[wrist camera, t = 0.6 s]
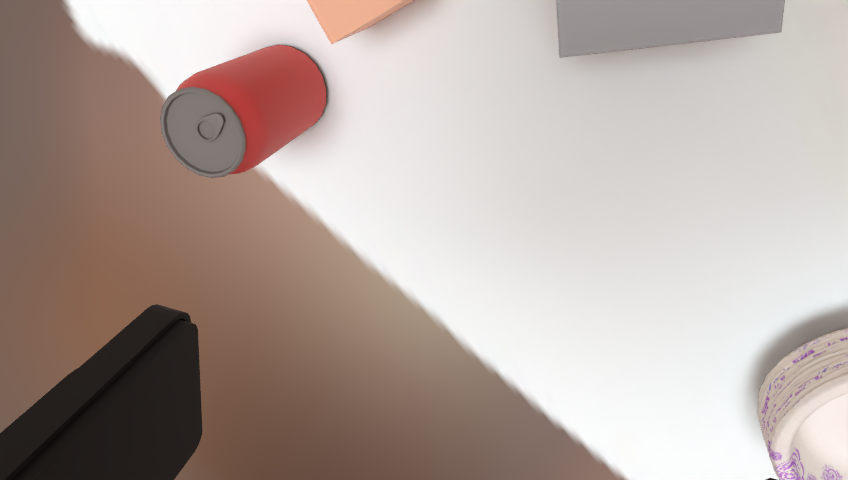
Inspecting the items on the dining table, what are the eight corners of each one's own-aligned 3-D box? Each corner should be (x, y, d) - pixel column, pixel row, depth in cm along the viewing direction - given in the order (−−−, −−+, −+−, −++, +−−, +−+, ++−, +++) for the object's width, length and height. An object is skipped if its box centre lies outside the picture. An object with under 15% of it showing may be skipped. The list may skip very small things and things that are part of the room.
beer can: (346, 98, 44) (273, 149, 33) (290, 144, 47) (207, 204, 36) (289, 24, 42) (193, 54, 32) (234, 77, 45) (131, 120, 35)
